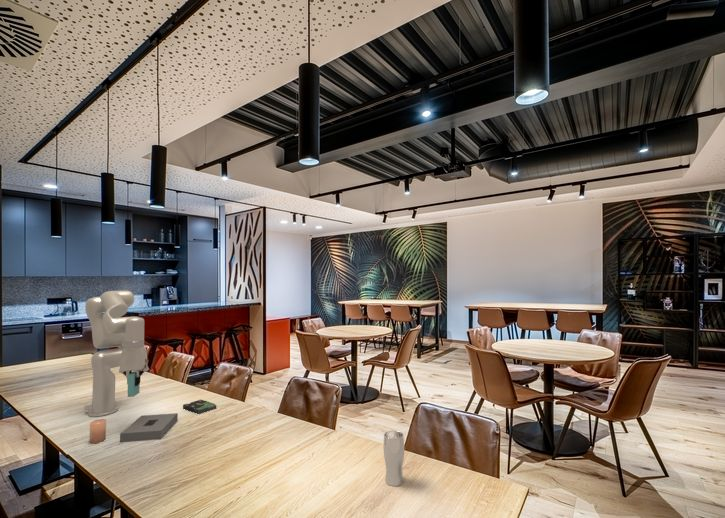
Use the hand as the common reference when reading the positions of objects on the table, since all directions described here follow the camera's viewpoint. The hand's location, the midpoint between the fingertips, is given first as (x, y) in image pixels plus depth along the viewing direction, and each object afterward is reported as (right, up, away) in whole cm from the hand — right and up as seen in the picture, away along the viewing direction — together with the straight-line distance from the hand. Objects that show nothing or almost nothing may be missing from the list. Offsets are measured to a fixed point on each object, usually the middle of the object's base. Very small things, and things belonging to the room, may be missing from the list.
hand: (133, 385), depth 162 cm
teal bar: (0, -4, 0) cm, 4 cm away
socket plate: (+9, -20, -2) cm, 22 cm away
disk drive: (+19, -22, +25) cm, 38 cm away
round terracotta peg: (-7, -19, -12) cm, 24 cm away
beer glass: (+115, -16, -44) cm, 125 cm away
